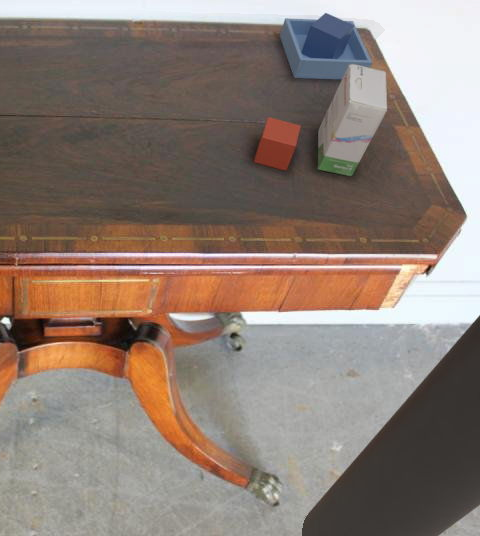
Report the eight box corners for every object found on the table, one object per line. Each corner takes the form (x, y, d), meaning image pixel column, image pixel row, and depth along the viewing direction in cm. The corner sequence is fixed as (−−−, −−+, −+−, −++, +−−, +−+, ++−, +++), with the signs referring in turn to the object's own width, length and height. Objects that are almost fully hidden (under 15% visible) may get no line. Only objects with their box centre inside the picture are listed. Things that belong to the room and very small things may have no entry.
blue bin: (345, 38, 118) (353, 20, 115) (364, 80, 111) (372, 62, 108) (279, 36, 117) (285, 18, 115) (293, 78, 110) (300, 59, 108)
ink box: (317, 131, 103) (346, 60, 93) (354, 138, 102) (386, 68, 93) (316, 170, 97) (346, 100, 88) (354, 178, 97) (389, 108, 88)
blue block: (343, 53, 114) (354, 25, 110) (329, 66, 111) (340, 38, 107) (315, 40, 116) (325, 12, 112) (300, 53, 113) (310, 25, 109)
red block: (291, 150, 100) (301, 125, 96) (286, 171, 97) (296, 146, 93) (259, 141, 100) (268, 116, 97) (253, 162, 98) (262, 136, 94)
